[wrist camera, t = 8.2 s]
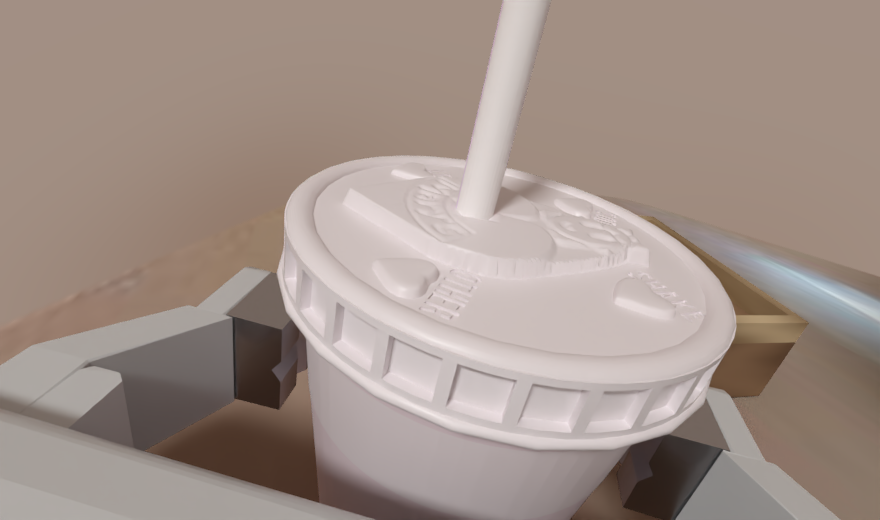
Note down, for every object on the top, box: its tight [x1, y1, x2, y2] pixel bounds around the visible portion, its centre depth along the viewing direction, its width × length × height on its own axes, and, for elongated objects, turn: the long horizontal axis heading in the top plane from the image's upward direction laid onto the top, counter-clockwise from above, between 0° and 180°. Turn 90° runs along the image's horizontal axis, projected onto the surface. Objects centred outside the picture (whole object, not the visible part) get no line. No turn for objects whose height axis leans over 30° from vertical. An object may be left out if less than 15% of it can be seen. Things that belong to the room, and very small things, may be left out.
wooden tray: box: [639, 216, 808, 397], centre depth 22 cm, size 10×10×4 cm
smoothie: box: [277, 0, 736, 520], centre depth 8 cm, size 6×6×14 cm
